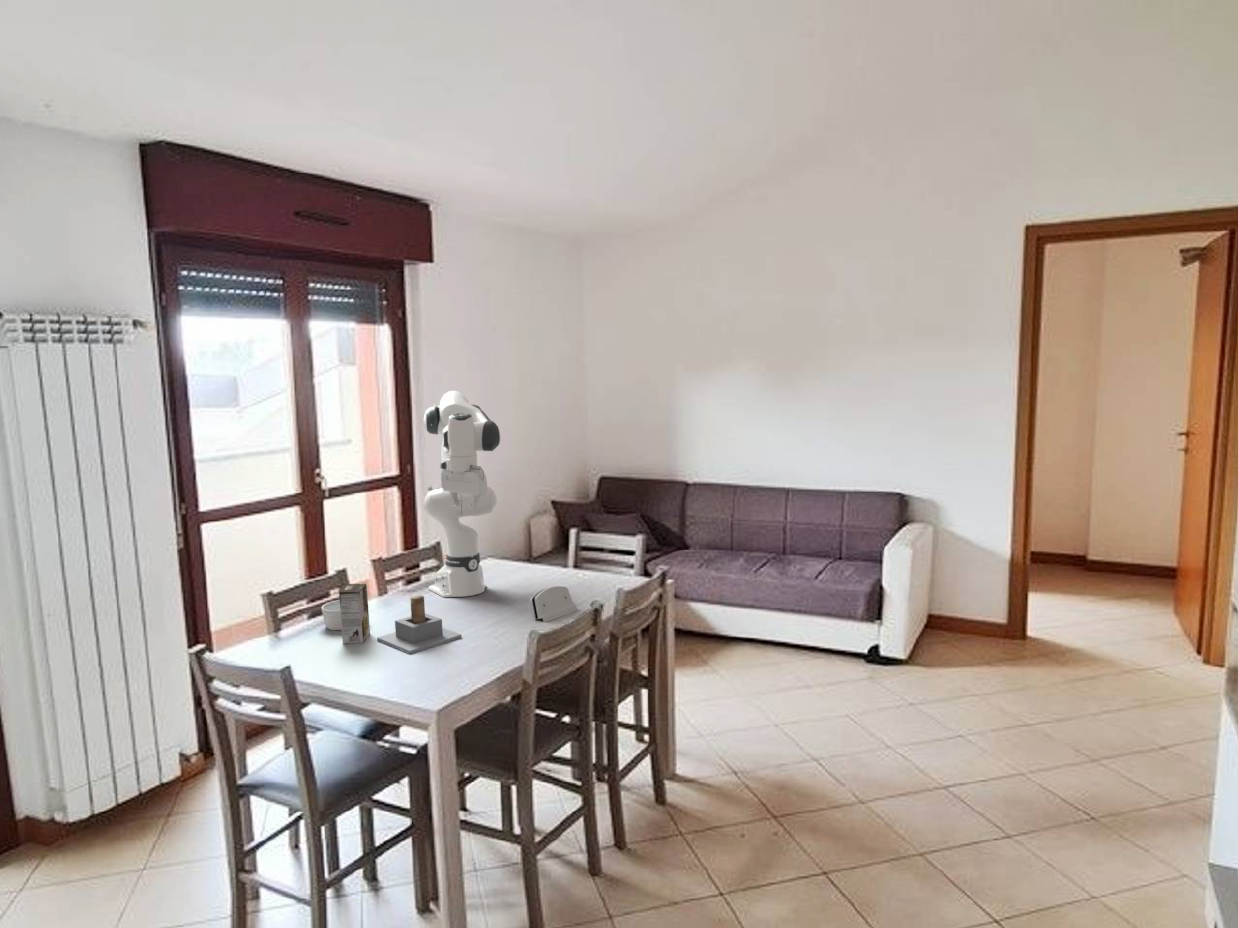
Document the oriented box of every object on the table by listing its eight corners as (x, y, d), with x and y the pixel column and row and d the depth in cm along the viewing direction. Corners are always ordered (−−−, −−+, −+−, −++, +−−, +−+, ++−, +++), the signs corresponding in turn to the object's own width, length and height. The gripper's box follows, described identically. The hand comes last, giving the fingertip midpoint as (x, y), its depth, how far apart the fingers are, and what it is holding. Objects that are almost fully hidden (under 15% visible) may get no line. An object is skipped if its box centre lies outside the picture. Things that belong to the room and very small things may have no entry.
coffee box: (349, 634, 246) (346, 583, 244) (370, 632, 246) (367, 582, 244) (341, 644, 237) (338, 591, 235) (363, 642, 237) (360, 590, 235)
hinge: (544, 622, 252) (535, 592, 253) (534, 624, 255) (525, 595, 256) (578, 609, 265) (569, 580, 266) (568, 611, 268) (560, 583, 269)
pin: (409, 636, 239) (407, 597, 237) (421, 632, 242) (419, 594, 240) (417, 638, 236) (415, 600, 235) (428, 635, 239) (426, 597, 238)
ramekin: (374, 622, 257) (373, 601, 256) (343, 634, 246) (342, 612, 245) (345, 617, 263) (344, 596, 262) (313, 629, 252) (312, 607, 251)
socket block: (377, 640, 239) (376, 621, 238) (428, 625, 252) (427, 607, 251) (409, 654, 226) (408, 633, 226) (461, 637, 240) (460, 618, 239)
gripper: (491, 465, 247) (493, 508, 249) (452, 461, 261) (455, 502, 263) (474, 467, 242) (477, 511, 244) (436, 463, 256) (439, 505, 258)
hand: (465, 507), depth 253 cm, fingers open, 8 cm apart
